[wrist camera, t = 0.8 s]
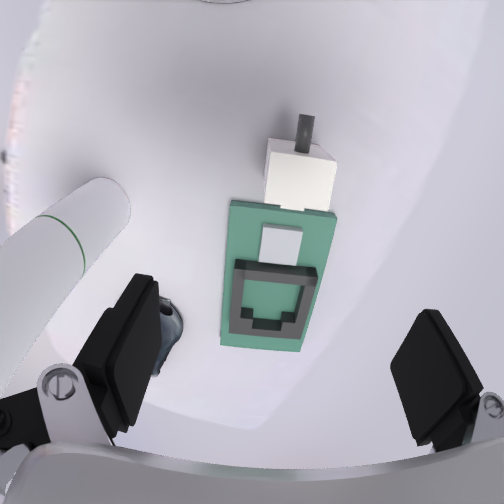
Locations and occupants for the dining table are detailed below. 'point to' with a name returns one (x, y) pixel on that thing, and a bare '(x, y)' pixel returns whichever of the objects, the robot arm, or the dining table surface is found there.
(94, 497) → the robot arm
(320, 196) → the keyed plug
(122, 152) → the dining table surface
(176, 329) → the electronic device
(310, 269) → the circuit board
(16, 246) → the cylindrical container
